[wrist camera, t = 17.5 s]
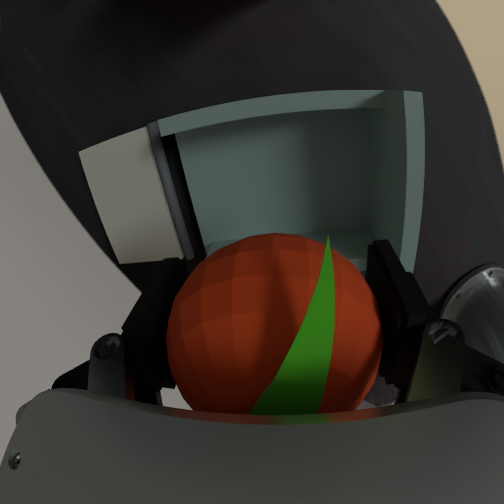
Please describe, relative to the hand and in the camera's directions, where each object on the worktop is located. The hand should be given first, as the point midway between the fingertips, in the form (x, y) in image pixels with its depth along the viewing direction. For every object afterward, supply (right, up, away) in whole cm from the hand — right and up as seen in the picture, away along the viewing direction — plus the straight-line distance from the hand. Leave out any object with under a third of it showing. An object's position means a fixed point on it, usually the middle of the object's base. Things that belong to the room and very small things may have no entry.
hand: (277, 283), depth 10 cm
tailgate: (-8, +6, +13) cm, 17 cm away
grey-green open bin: (+1, +8, +13) cm, 15 cm away
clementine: (0, +1, +1) cm, 1 cm away
